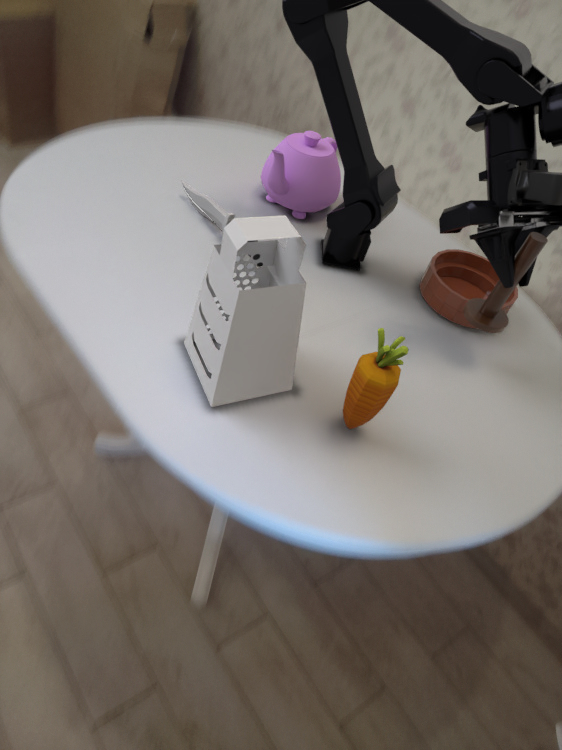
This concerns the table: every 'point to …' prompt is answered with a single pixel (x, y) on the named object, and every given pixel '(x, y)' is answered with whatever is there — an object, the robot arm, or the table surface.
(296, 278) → the grater
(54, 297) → the table surface
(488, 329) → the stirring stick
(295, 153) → the teapot
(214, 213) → the knife
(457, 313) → the bowl
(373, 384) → the carrot
